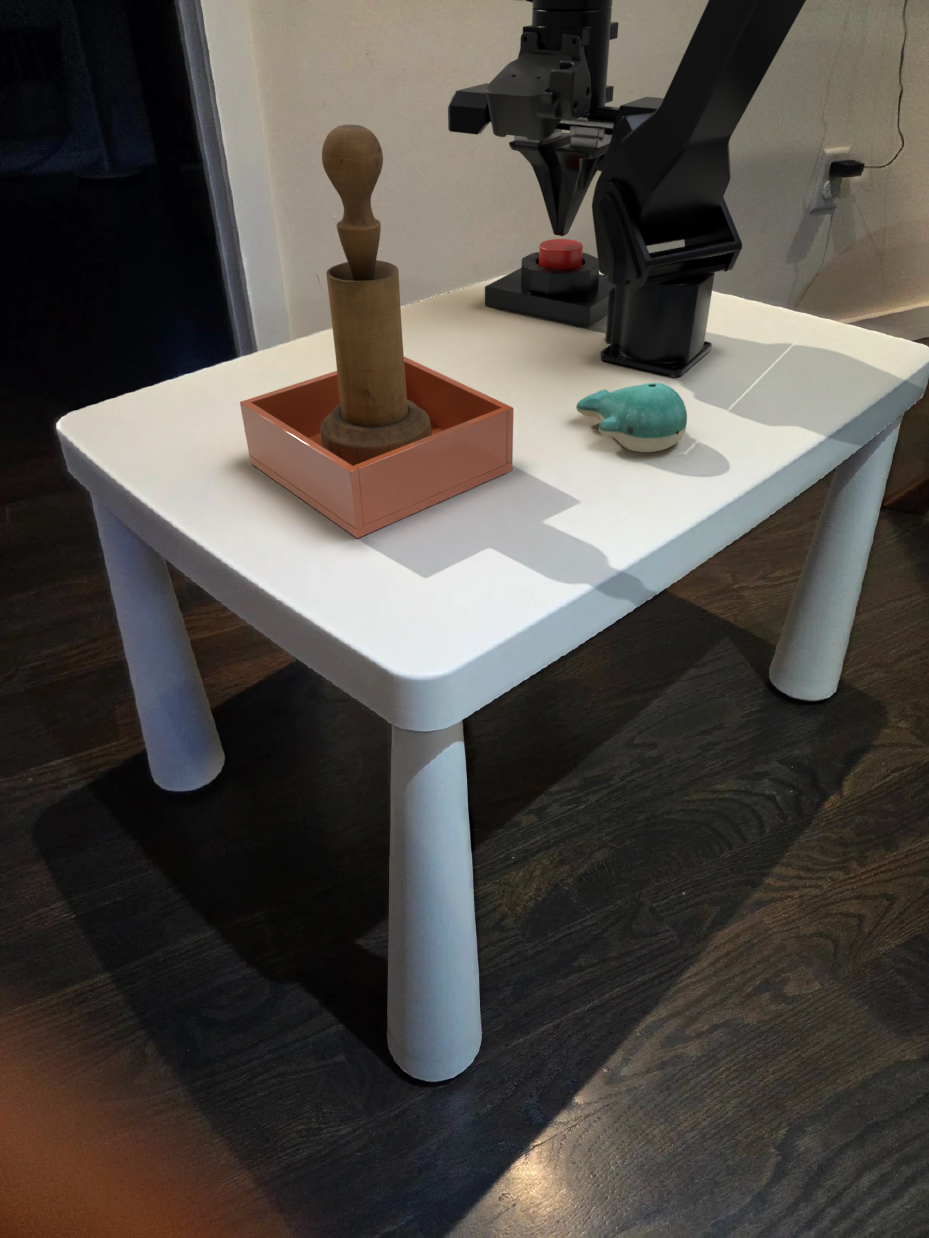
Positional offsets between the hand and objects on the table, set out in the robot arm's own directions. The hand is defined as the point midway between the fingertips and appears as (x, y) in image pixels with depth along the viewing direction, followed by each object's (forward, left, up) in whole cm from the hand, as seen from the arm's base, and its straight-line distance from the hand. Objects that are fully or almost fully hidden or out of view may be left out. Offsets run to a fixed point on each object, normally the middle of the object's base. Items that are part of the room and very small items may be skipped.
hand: (561, 234), depth 75 cm
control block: (0, 0, -6) cm, 6 cm away
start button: (0, 0, -3) cm, 3 cm away
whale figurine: (-16, +20, -6) cm, 26 cm away
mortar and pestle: (-5, +32, -5) cm, 32 cm away
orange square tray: (-5, +32, -6) cm, 32 cm away
